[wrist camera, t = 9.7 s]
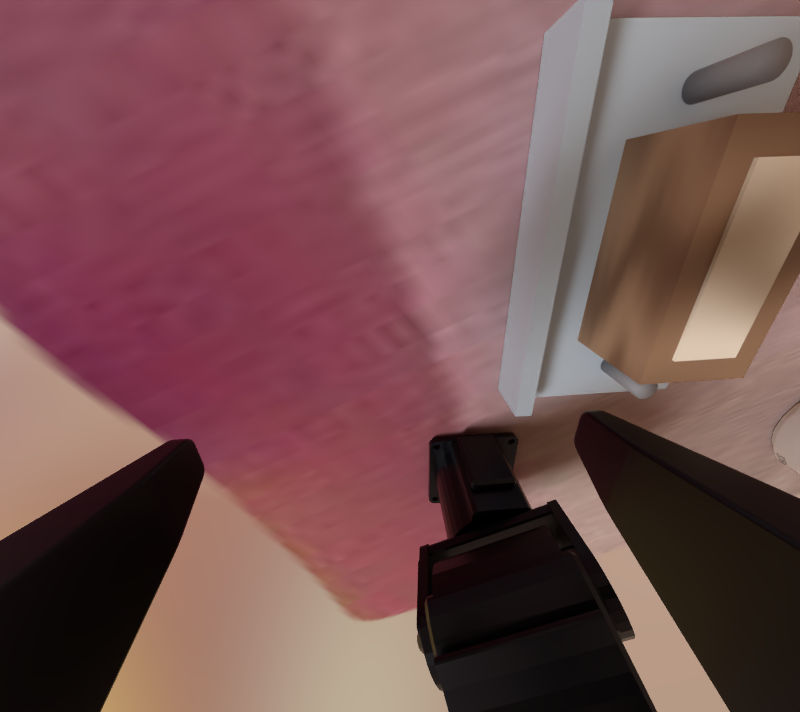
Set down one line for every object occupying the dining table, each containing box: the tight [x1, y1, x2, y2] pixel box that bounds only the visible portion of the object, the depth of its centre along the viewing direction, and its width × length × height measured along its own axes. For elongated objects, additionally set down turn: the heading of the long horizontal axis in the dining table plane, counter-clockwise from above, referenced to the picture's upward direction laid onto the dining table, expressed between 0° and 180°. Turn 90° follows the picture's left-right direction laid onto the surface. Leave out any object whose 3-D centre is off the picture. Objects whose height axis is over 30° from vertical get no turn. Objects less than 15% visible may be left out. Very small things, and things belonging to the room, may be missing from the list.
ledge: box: [498, 0, 800, 417], centre depth 16 cm, size 18×11×4 cm, turn 2°
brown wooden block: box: [577, 112, 800, 385], centre depth 14 cm, size 10×5×5 cm, turn 2°
